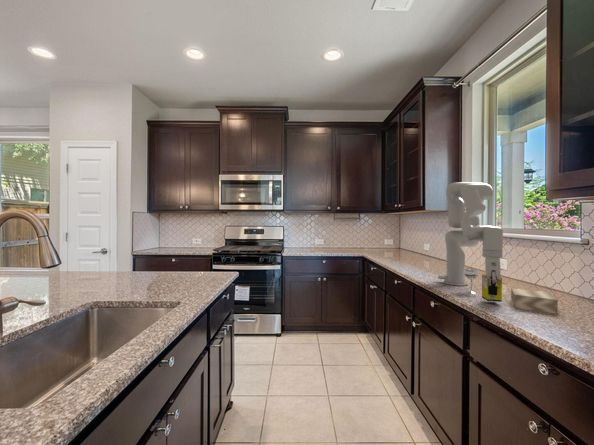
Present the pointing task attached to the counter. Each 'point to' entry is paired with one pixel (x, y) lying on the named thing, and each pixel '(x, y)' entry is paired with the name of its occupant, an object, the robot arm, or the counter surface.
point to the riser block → (534, 300)
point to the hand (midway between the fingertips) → (491, 292)
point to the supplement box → (485, 290)
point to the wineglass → (471, 277)
